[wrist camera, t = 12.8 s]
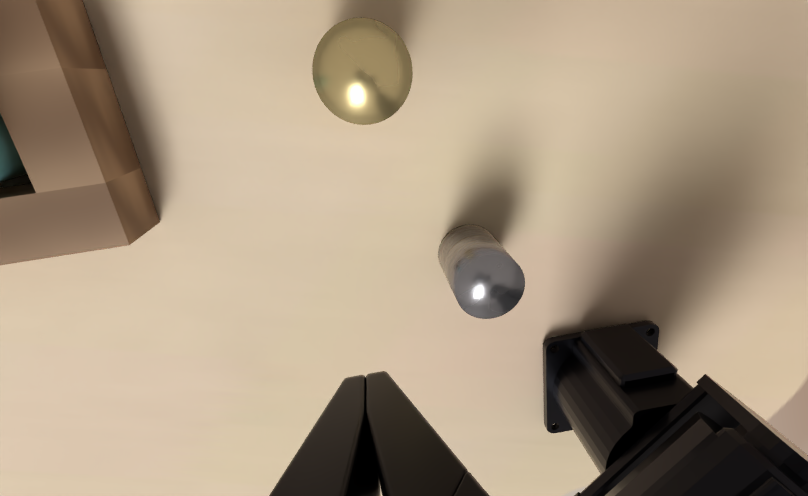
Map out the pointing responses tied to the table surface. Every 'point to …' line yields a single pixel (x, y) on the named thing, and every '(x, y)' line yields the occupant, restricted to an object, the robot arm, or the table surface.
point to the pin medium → (362, 71)
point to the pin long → (9, 155)
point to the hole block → (64, 139)
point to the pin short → (480, 272)
